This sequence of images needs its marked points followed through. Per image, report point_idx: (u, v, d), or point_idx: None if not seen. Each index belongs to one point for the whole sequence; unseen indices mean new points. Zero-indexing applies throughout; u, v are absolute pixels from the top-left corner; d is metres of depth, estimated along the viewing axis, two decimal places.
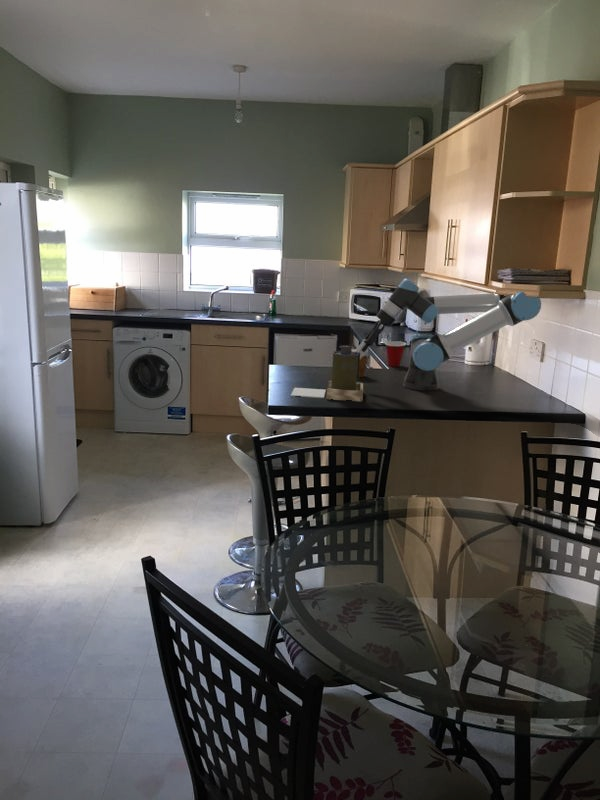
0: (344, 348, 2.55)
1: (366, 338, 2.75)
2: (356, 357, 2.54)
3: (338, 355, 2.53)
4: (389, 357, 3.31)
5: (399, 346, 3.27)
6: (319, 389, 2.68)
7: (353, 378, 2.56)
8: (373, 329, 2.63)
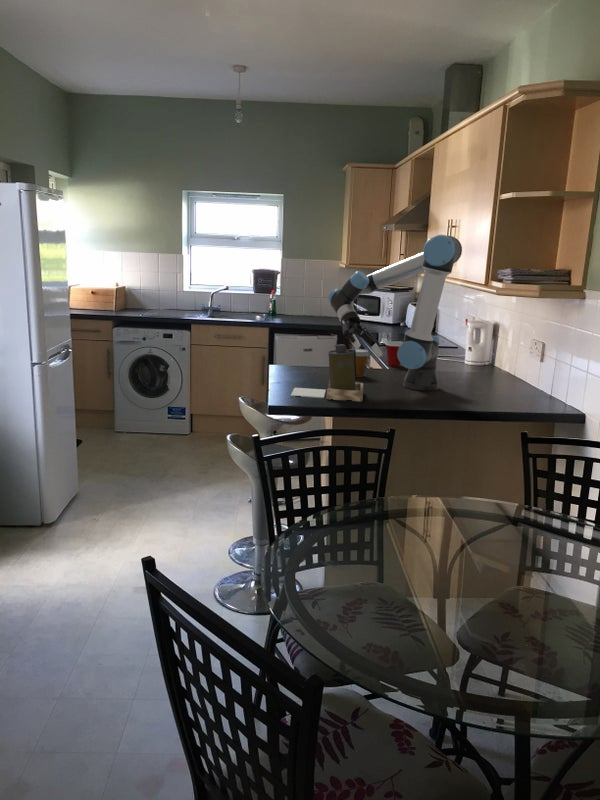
0: (339, 347, 2.55)
1: (372, 345, 2.71)
2: (352, 354, 2.54)
3: (333, 354, 2.53)
4: (389, 357, 3.31)
5: (399, 346, 3.27)
6: (319, 389, 2.68)
7: (351, 376, 2.55)
8: None
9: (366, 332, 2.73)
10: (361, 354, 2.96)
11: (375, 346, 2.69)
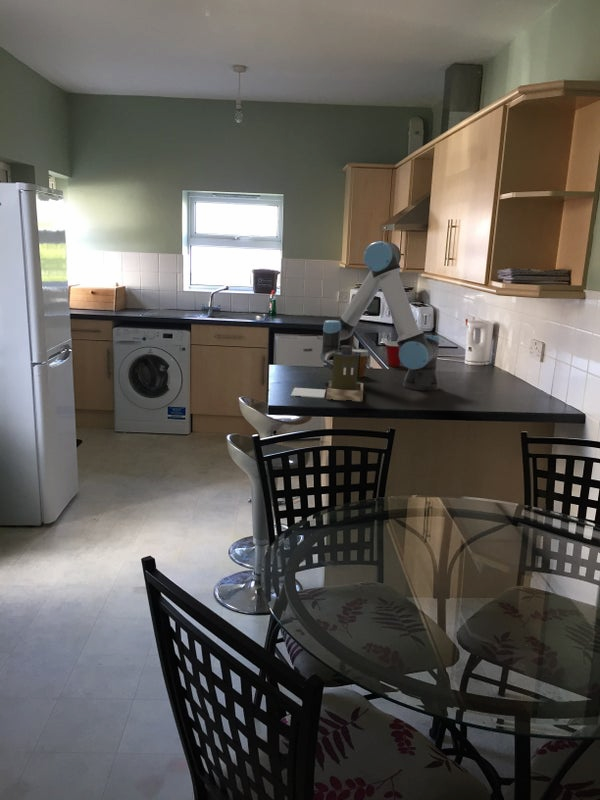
0: (345, 348, 2.54)
1: None
2: (357, 357, 2.54)
3: (339, 355, 2.53)
4: (389, 357, 3.31)
5: None
6: (319, 389, 2.68)
7: (354, 378, 2.56)
8: None
9: None
10: (361, 354, 2.96)
11: None
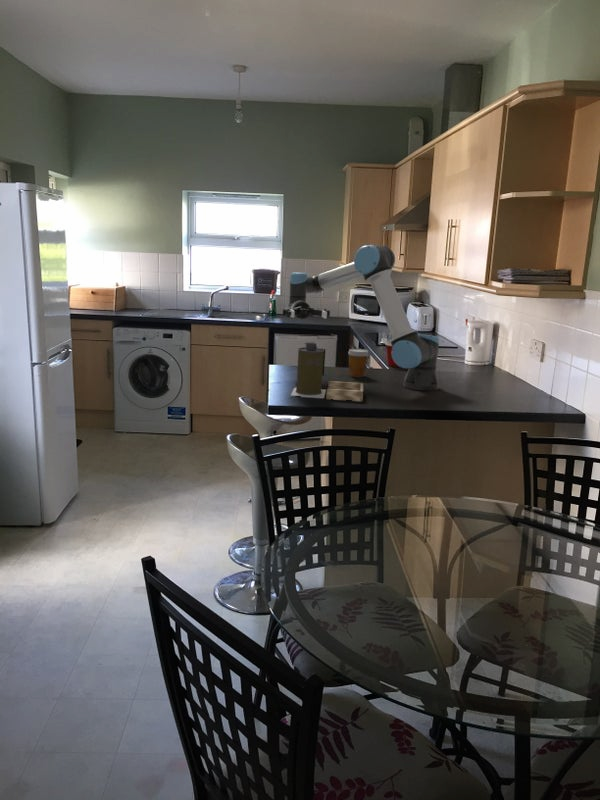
0: (309, 344, 2.56)
1: None
2: (321, 353, 2.56)
3: (303, 351, 2.54)
4: (389, 357, 3.31)
5: None
6: None
7: (318, 374, 2.57)
8: (295, 314, 2.80)
9: (317, 310, 2.83)
10: (361, 354, 2.96)
11: (322, 312, 2.75)
